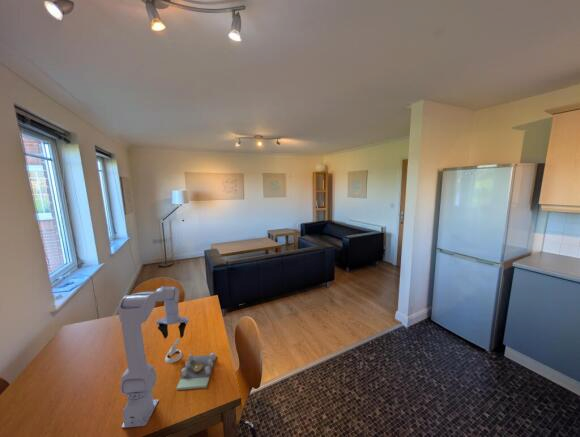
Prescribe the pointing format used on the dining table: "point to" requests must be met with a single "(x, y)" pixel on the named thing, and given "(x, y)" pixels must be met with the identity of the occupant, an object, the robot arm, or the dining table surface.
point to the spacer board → (200, 379)
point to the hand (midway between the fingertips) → (174, 336)
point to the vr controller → (173, 353)
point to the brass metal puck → (197, 368)
